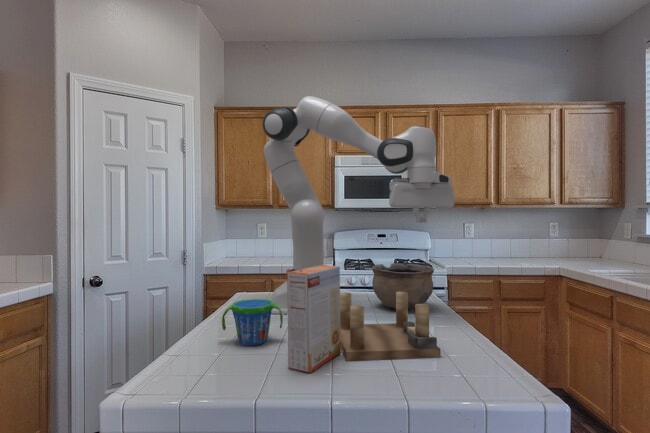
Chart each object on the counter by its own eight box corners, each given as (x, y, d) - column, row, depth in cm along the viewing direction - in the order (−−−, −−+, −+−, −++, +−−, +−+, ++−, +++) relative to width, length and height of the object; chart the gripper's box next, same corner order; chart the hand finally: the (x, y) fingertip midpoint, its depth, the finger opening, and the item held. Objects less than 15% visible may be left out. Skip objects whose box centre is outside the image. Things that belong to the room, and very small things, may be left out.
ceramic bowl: (419, 300, 149) (418, 262, 150) (445, 313, 128) (445, 269, 128) (364, 302, 146) (364, 263, 146) (383, 316, 124) (382, 271, 124)
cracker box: (320, 349, 93) (320, 264, 93) (341, 353, 90) (341, 265, 90) (285, 368, 81) (285, 270, 81) (309, 374, 78) (309, 272, 78)
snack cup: (216, 348, 93) (217, 307, 93) (228, 335, 104) (228, 298, 104) (280, 349, 93) (280, 307, 93) (285, 336, 103) (285, 298, 104)
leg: (401, 329, 101) (401, 295, 101) (413, 328, 102) (413, 295, 102) (418, 345, 88) (417, 306, 88) (431, 344, 89) (431, 306, 89)
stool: (346, 361, 85) (346, 310, 85) (333, 332, 107) (333, 292, 107) (440, 357, 87) (440, 307, 87) (408, 329, 109) (408, 290, 109)
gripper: (392, 176, 114) (392, 222, 114) (456, 177, 116) (456, 222, 116) (386, 178, 120) (386, 222, 120) (447, 179, 123) (447, 222, 123)
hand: (421, 222), depth 118 cm, fingers closed
